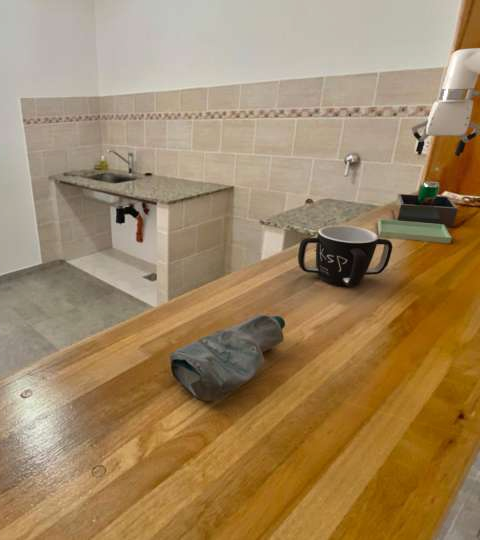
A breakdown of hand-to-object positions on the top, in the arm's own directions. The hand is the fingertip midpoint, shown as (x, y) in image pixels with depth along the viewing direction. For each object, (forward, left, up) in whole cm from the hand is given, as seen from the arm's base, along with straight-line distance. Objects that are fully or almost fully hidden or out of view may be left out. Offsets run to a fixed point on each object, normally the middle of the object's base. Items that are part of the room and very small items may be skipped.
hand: (437, 154), depth 121 cm
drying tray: (+4, +17, -21) cm, 28 cm away
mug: (+22, +61, -21) cm, 68 cm away
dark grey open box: (0, 0, -21) cm, 21 cm away
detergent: (+36, +104, -21) cm, 112 cm away
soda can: (0, 0, -21) cm, 21 cm away
